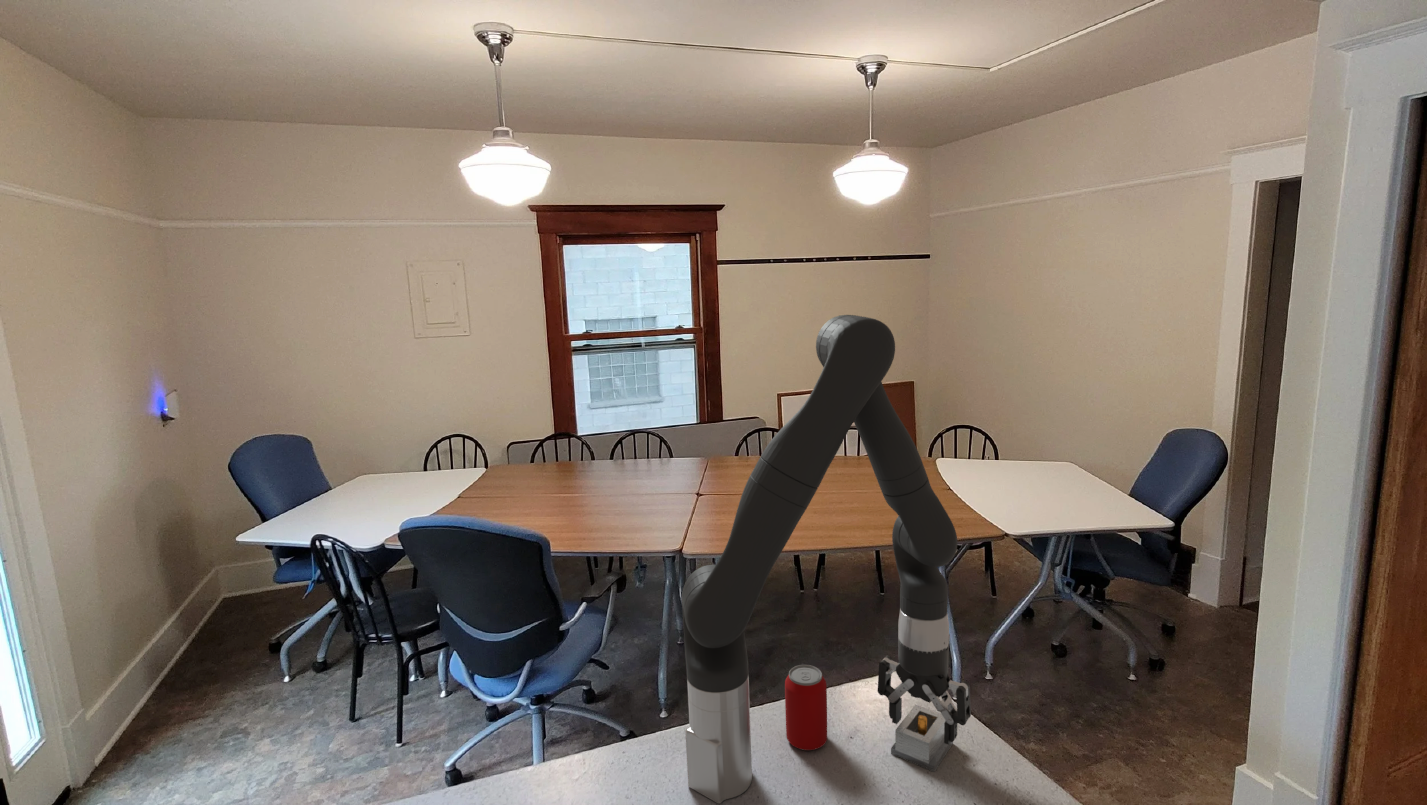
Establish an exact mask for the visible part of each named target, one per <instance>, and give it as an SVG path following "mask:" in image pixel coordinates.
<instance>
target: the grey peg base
mask: <svg viewBox="0 0 1427 805" xmlns="http://www.w3.org/2000/svg"><path fill="white" fill-rule="evenodd" d="M926 733H927V717H926V716H923V715H920V716H918V734H921V735H923V736H925V734H926ZM953 743H954V742H953ZM953 743H952V742H951V743H950V745H948V744H945V743H944V742H943V743H942V745H941V746H940V748H939V749H938V751H937V752H936V754H935V755H934V757H933V758H932V760H931V761H930V763H929V764H928V763H926V762H923V761H921V760H919V759H916V758H914V757H911V756H909V755H907V754H904V753H902V752H899V751H897V750H895V743H894V744H893V745H892V746H891V748H890V754H891V755H892V756H895V757H897V758H900V759H902V760H904V761H907V762H910V763H912V764H914V765H917V766H919V767H921V768H924V769H926V770H929V771H931V772H933V773H935V772H936V770H937V769H938V768H939V766H940V764H941V762H942V761H943V760H944V758H945V757H946V755H947V753H948V752H949V750H950V749H951V747H952V745H954V744H953Z"/></svg>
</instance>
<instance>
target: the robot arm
mask: <svg viewBox="0 0 1427 805" xmlns="http://www.w3.org/2000/svg"><path fill="white" fill-rule="evenodd" d="M815 349H816V350H815V351H816V355H817V356H816V357H817V358H818V361H819V362H820V364H821V365H822V371H821V373H820V375H819V377H818V379H817V380H816V383H815V385H814V387H813V389H812V391H811V393H810V395H809V396H808V397H807V400H805V403H803V405H802V406H801V408H799V410H798V411H797V412H796V413H795V414H794V415H793V416H792V417H791V418H790V419H789V420H788V421H787V422H786V423H785V425H784V426H782V427H781V428H780V430H779V431H778V432H777V433H775V435H774V436H773V438H772V439H770V441H769V443H767V445H766V447H765V448H764V449H763V451H762V453H761V455H760V457H759V458H758V461H757V462H756V463H755V466H754V467H753V469H752V471H751V473H750V475H749V477H748V479H747V481H746V484H745V486H744V488H743V491H742V493H741V496H740V500H739V502H738V506H737V510H736V513H735V517H734V520H733V523H732V524H733V525H732V528H731V532H730V535H729V538H728V540H727V543H726V545H725V548H724V549H723V551H722V553H721V556H720V557H719V559H718V561H717V562H716V564H708V565H703V566H701V567H699V568H697V569H695V570H694V571H693V572H691V574H690V575H689V576H688V577H687V578H686V581H685V583H684V586H683V588H682V593H681V605H682V607H681V609H682V610H681V611H682V623H683V624H682V625H683V639H684V642H683V643H684V657H685V658H684V659H685V665H686V666H685V668H686V682H687V683H686V684H687V704H688V721H689V727H687V728H686V730H684V732H685V734H684V735H685V748H686V752H685V753H686V766H687V767H686V768H687V786H688V787H689V788H690V789H692V790H694V791H695V792H697V793H699V794H701V795H702V796H704V797H706V798H708V799H710V800H711V801H713V802H715V803H716V804H719V805H720V804H722V802H723V801H725V800H729V799H733V798H736V797H738V796H741V795H742V794H743V793H744V792H746V791H747V789H748V788H750V785H751V783H752V781H753V766H752V765H753V763H752V762H753V761H752V758H753V757H752V740H751V739H752V738H751V737H752V736H751V735H752V734H751V712H750V710H751V707H750V680H749V679H750V678H749V675H750V674H749V658H748V652H747V644H746V635H745V629H746V628H747V625H748V624H749V622H750V619H751V617H752V614H753V612H754V610H755V608H756V605H757V603H758V599H759V597H760V595H761V592H762V590H763V588H764V585H765V584H766V581H767V579H768V577H769V575H770V573H771V571H772V569H773V567H774V565H775V563H777V562H776V561H777V560H778V559H779V557H780V555H781V553H782V552H783V550H784V548H785V547H786V545H787V543H788V541H789V539H790V538H791V536H792V534H793V533H794V530H795V529H796V527H797V525H798V523H799V522H800V521H801V519H802V517H803V515H804V514H805V512H806V510H807V509H808V507H809V506H810V503H811V502H812V500H813V498H814V496H815V494H816V492H817V491H818V489H819V487H820V485H821V483H822V481H823V478H824V477H825V475H826V473H827V471H828V469H829V468H830V466H831V464H832V462H833V461H834V459H835V456H836V455H837V453H838V452H839V450H840V447H841V445H842V444H843V442H844V440H845V438H846V437H847V434H848V433H849V431H850V429H851V427H852V425H853V424H854V425H855V428H856V430H857V432H858V435H859V436H860V439H861V441H862V444H863V447H864V450H865V452H866V454H867V458H868V459H869V462H870V465H871V467H872V468H871V469H872V470H873V473H874V476H875V478H876V481H877V483H878V485H879V489H880V490H881V493H882V496H883V498H884V500H885V501H886V503H887V505H888V506H889V508H891V510H893V511H894V512H895V513H896V514H897V517H896V520H895V521H894V524H893V527H892V533H891V535H892V536H891V538H892V541H891V542H892V547H893V553H894V558H895V559H894V560H895V565H896V570H897V573H898V577H899V581H900V587H899V588H900V590H899V616H898V623H897V624H898V628H897V629H898V631H897V632H898V634H897V635H898V637H897V639H898V641H897V643H898V644H897V646H898V649H897V650H898V652H897V653H898V654H897V656H898V662H897V661H894V660H893V658H892V656H890V655H885V656H884V658H883V659H882V660H881V661H880V662H879V664H878V676H877V678H878V679H877V693H878V694H879V695H880V696H884V697H886V698H887V700H888V709H889V710H888V716H889V719H891V722H892V724H895V725H899V723H900V721H901V720H902V716H903V715H902V713H903V712H902V709H903V705H902V703H903V702H902V701H903V700H902V699H903V698H902V696H904V694H906V693H908V694H910V696H911V697H913V698H917V699H921V700H923V701H924V702H925V703H926V702H927V703H929V704H930V703H932V705H933V706H934V707H935V710H936V712H938V713H940V714H942V715H943V717H944V719H945V720H946V721H945V723H944V743H945V744H948V745H950V743H951V742H952V743H954V741H955V739H956V738H957V736H958V724H959V725H960V726H965V725H966V724H967V722H968V720H969V719H970V718H971V715H972V710H971V687H970V683H969V682H968V681H966V680H962V681H961V682H958V681H954V680H951V678H950V676H949V657H950V656H949V652H950V651H949V650H950V647H949V646H950V644H949V643H950V625H949V624H950V623H949V618H948V617H949V616H948V602H949V601H948V599H949V598H948V596H949V595H948V594H949V591H948V583H947V582H948V581H947V579H946V578H945V576H944V574H942V572H941V571H940V570H939V567H943V566H946V565H947V564H949V563H950V562H951V561H952V560H953V559H954V557H955V555H956V553H957V549H958V535H957V532H956V529H955V528H956V527H955V526H954V524H953V522H952V520H951V518H950V516H949V515H948V512H947V511H946V509H945V507H944V506H943V504H942V502H941V500H940V499H939V497H938V496H937V495H936V493H935V492H934V490H933V488H932V486H931V483H930V479H929V477H928V474H927V471H926V468H925V466H924V463H923V460H922V458H921V455H920V453H919V451H918V448H917V447H916V444H915V442H914V440H913V438H912V437H911V435H910V433H909V431H908V429H907V428H906V427H905V425H904V423H903V421H902V420H901V418H900V417H899V415H898V413H897V412H896V409H895V408H894V406H893V404H892V403H891V401H890V399H889V397H888V395H887V392H886V390H885V388H884V385H883V380H884V378H885V377H886V375H887V374H888V372H889V370H890V369H891V366H892V364H893V361H894V360H895V359H894V358H895V354H896V340H895V336H894V334H893V332H892V331H891V329H890V328H889V326H888V325H887V324H885V322H882V321H881V320H878V319H877V318H871V317H867V316H862V315H855V314H842V315H837V316H834V317H832V318H830V319H828V320H827V321H826V322H825V323H824V324H823V325H822V327H821V328H820V329H819V331H818V334H817V337H816V341H815ZM894 672H896V675H897V677H898V678H899V680H900V681H901V683H899V685H898V686H896V687H895V688H894V687H892V674H893V673H894ZM948 690H950V691H951V692H952V695H953V698H954V699H956V706H955V705H954V703H953V698H952V697H951V695H950V693H949V691H948Z"/></svg>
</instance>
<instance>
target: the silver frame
mask: <svg viewBox="0 0 1427 805" xmlns="http://www.w3.org/2000/svg"><path fill="white" fill-rule="evenodd" d="M920 715H923V716H926V717H927V733H926V734H925V736H923V735H921V734H918V716H920ZM945 721H946V720H945V719H944V717H943V715H942V714H941V712H939V711H936V710H935V711H934V710H932V709H929V708H926V707H924V706H920V705H918V704H914V705H913V707H912V708H911V710H910V711H908V714H906V716H905V717H904V718H903V720H902V721H901V722H899V724H898V726H897V727H896V728H895V743H894V744H895V750H897V751H899V752H902V753H904V754H907V755H909V756H911V757H914V758H916V759H919V760H921V761H923V762H926V763H928V764H929V763H930V761H931V760H932V758H933V757H934V755H935V754H936V752H937V751H938V749H939V748H940V746H941V745H942V743H943V742H944V723H945Z"/></svg>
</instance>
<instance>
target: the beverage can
mask: <svg viewBox="0 0 1427 805" xmlns="http://www.w3.org/2000/svg"><path fill="white" fill-rule="evenodd" d="M827 695H828V693H827V682H826V679H825V677H824V676H823V673H822V671H821V670H820V668H818V667H816V666H814V665H810V664H799V665H795V666H794V667H791V669H790V670H789V672H788V675H787V676H786V678H785V680H784V703H785V706H784V707H785V708H784V709H785V732H786V733H785V735H786V740H787V742H788V743H789V744H790V745H791V746H793V747H795V748H797V749H800V750H802V749H803V751H812V750H813V751H814V750H817V749H820V748H821V747H823V746H824V745H825V744H826V742H827V741H828V696H827Z"/></svg>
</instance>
